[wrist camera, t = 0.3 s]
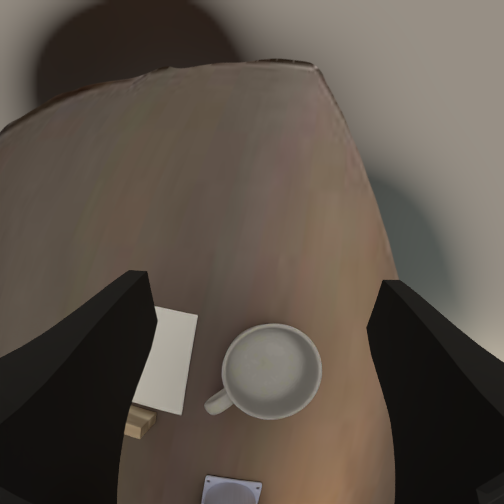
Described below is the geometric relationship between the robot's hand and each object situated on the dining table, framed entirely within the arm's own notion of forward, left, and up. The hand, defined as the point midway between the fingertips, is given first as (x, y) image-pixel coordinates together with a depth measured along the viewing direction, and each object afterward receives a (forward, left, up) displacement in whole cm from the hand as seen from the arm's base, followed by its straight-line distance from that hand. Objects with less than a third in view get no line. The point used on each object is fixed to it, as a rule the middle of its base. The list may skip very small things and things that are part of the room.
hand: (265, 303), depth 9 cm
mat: (-8, +13, -30) cm, 33 cm away
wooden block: (-16, +13, -30) cm, 36 cm away
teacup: (-6, -2, -30) cm, 31 cm away
